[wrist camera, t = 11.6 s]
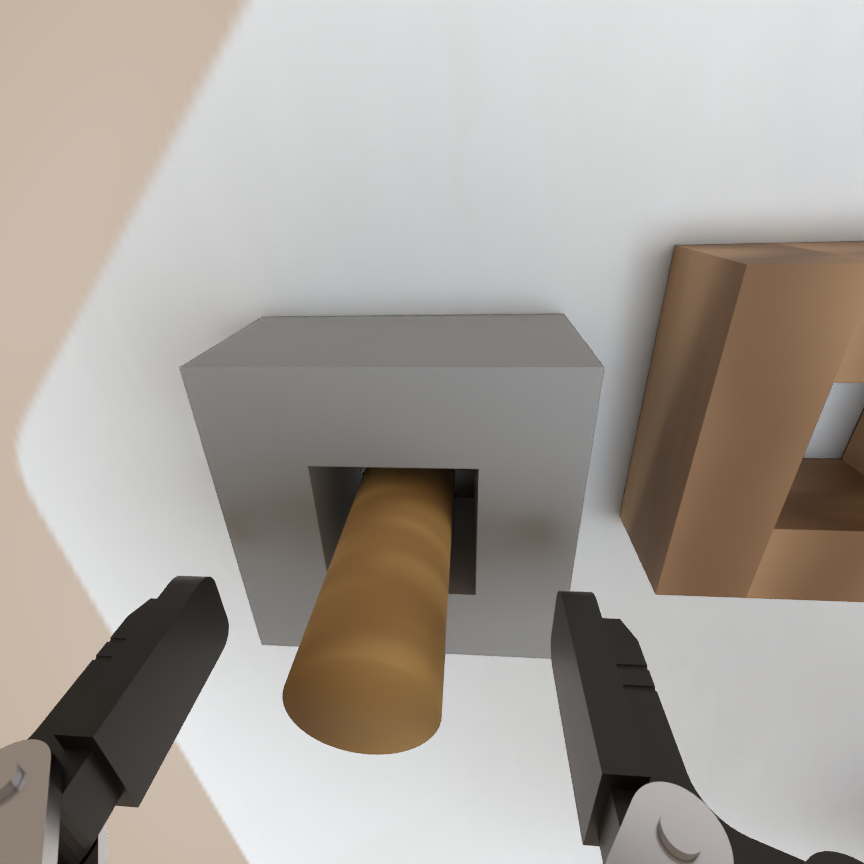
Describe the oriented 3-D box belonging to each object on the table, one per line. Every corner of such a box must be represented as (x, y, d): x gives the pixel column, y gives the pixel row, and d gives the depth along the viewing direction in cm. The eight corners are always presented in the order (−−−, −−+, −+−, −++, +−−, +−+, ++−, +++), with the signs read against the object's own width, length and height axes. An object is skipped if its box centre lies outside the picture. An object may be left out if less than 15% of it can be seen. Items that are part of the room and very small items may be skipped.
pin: (456, 410, 17) (440, 660, 8) (456, 479, 18) (443, 758, 9) (374, 410, 17) (268, 653, 8) (380, 479, 18) (296, 749, 9)
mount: (1047, 237, 13) (1267, 255, 9) (890, 522, 17) (997, 607, 14) (674, 245, 14) (746, 264, 10) (619, 515, 18) (655, 594, 15)
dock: (564, 313, 15) (604, 367, 10) (538, 552, 19) (559, 659, 15) (262, 317, 15) (178, 367, 11) (307, 545, 20) (261, 644, 16)
